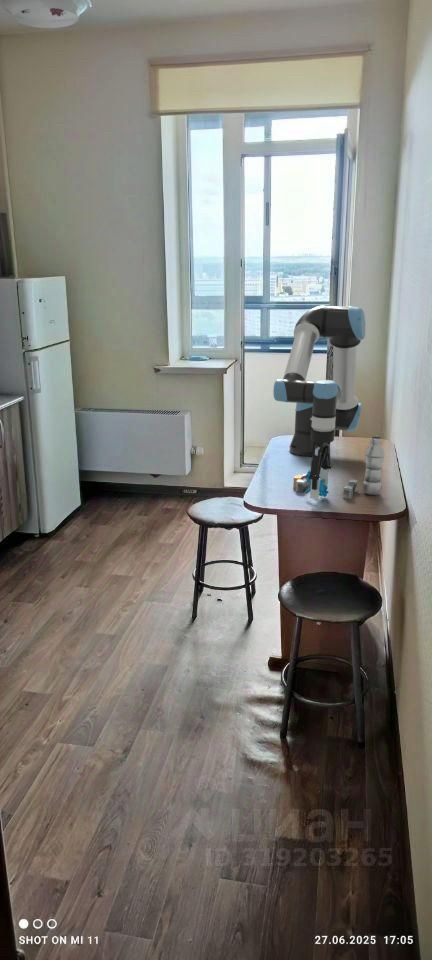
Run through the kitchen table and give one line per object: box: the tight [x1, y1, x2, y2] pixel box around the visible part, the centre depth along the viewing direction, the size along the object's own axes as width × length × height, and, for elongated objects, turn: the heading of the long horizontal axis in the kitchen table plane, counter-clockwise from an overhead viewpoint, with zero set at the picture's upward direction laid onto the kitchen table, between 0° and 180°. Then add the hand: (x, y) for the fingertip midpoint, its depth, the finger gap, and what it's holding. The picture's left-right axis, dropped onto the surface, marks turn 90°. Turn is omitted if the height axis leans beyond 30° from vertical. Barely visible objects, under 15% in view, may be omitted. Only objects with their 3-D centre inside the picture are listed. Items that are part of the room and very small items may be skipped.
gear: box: [305, 470, 329, 498], centre depth 227 cm, size 11×6×10 cm
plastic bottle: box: [362, 436, 386, 496], centre depth 232 cm, size 6×7×20 cm
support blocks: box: [292, 473, 358, 500], centre depth 237 cm, size 10×21×4 cm, turn 67°
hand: (318, 492), depth 227 cm, fingers closed on gear, 11 cm apart
